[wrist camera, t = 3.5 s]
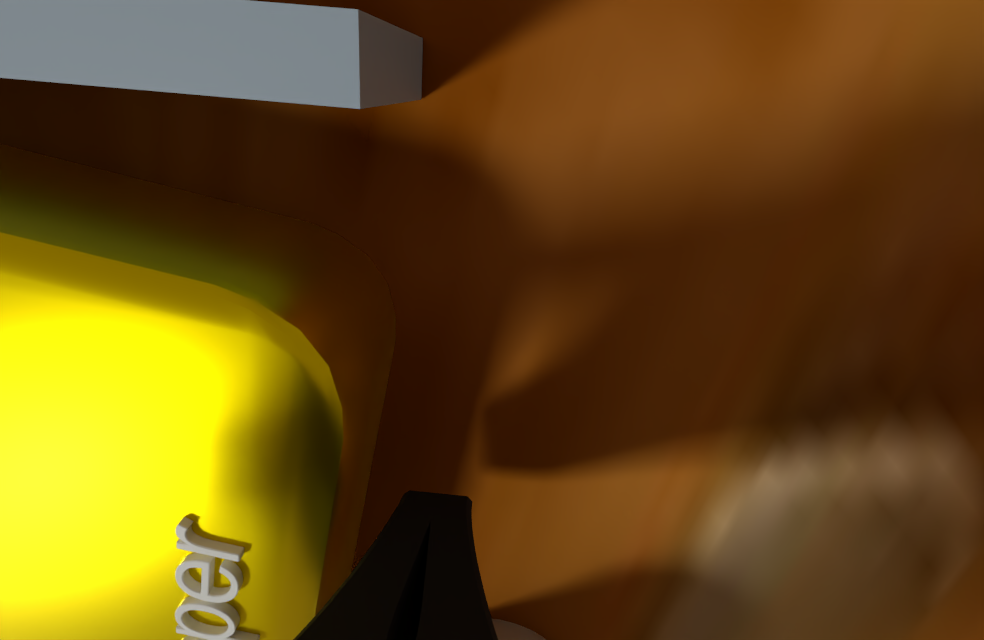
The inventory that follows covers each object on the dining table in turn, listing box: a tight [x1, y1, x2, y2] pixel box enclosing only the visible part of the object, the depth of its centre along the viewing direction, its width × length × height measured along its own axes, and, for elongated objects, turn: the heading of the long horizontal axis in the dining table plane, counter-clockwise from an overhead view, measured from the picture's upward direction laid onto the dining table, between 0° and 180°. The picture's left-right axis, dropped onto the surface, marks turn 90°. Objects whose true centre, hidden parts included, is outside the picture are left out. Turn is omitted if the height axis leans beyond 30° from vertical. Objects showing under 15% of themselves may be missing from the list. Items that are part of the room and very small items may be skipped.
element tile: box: [0, 144, 396, 640], centre depth 12 cm, size 15×15×5 cm
